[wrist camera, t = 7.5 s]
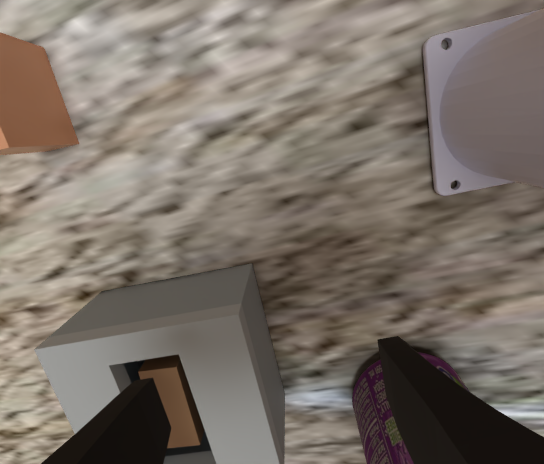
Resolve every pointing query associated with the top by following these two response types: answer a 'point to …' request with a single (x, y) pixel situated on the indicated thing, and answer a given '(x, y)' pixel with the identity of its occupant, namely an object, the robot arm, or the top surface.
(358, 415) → the beverage can
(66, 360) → the coin box
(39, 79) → the block
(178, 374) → the block
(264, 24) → the top surface
